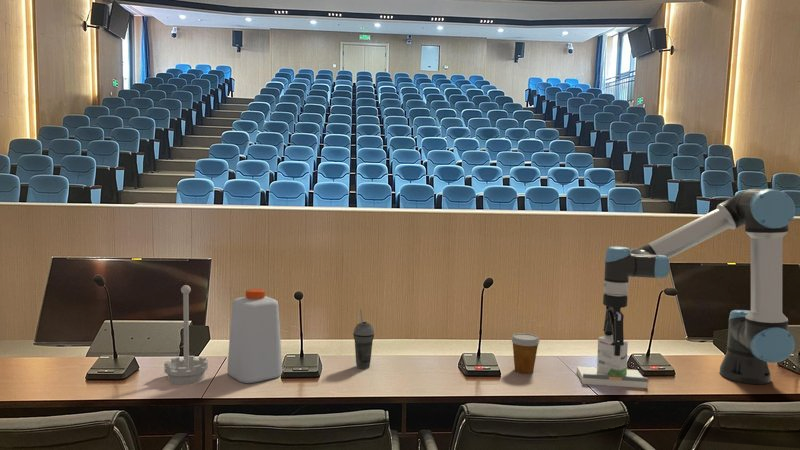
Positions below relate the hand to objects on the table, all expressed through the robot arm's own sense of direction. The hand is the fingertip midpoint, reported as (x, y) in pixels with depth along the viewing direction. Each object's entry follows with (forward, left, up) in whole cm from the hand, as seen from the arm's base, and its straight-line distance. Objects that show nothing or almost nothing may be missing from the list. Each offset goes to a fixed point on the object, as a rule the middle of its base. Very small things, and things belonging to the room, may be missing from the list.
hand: (611, 359), depth 198 cm
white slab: (0, 0, -7) cm, 7 cm away
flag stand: (+136, +25, -7) cm, 138 cm away
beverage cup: (+83, +3, -7) cm, 83 cm away
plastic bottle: (+116, +18, -7) cm, 118 cm away
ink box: (0, 0, -5) cm, 5 cm away
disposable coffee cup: (+28, -4, -7) cm, 29 cm away
